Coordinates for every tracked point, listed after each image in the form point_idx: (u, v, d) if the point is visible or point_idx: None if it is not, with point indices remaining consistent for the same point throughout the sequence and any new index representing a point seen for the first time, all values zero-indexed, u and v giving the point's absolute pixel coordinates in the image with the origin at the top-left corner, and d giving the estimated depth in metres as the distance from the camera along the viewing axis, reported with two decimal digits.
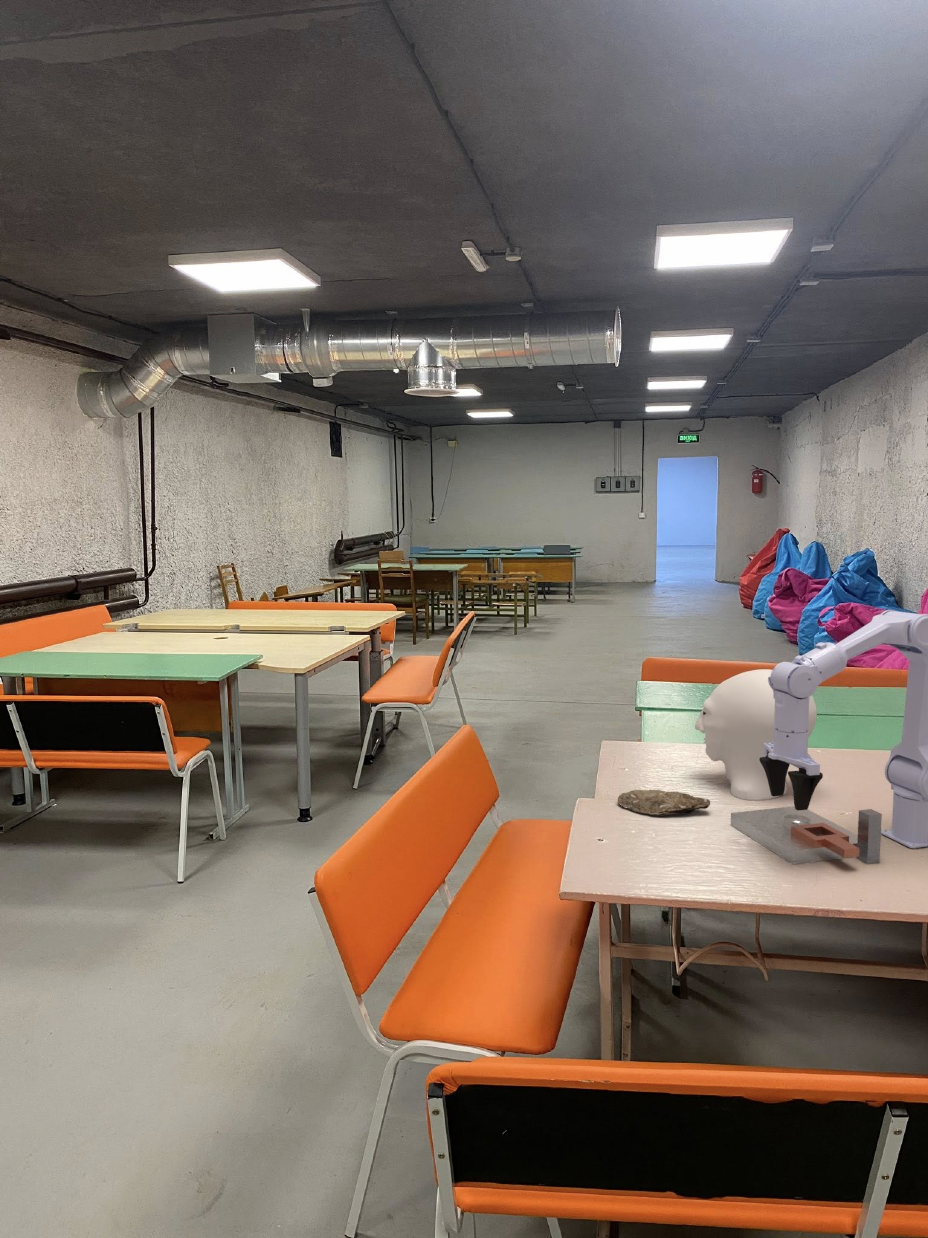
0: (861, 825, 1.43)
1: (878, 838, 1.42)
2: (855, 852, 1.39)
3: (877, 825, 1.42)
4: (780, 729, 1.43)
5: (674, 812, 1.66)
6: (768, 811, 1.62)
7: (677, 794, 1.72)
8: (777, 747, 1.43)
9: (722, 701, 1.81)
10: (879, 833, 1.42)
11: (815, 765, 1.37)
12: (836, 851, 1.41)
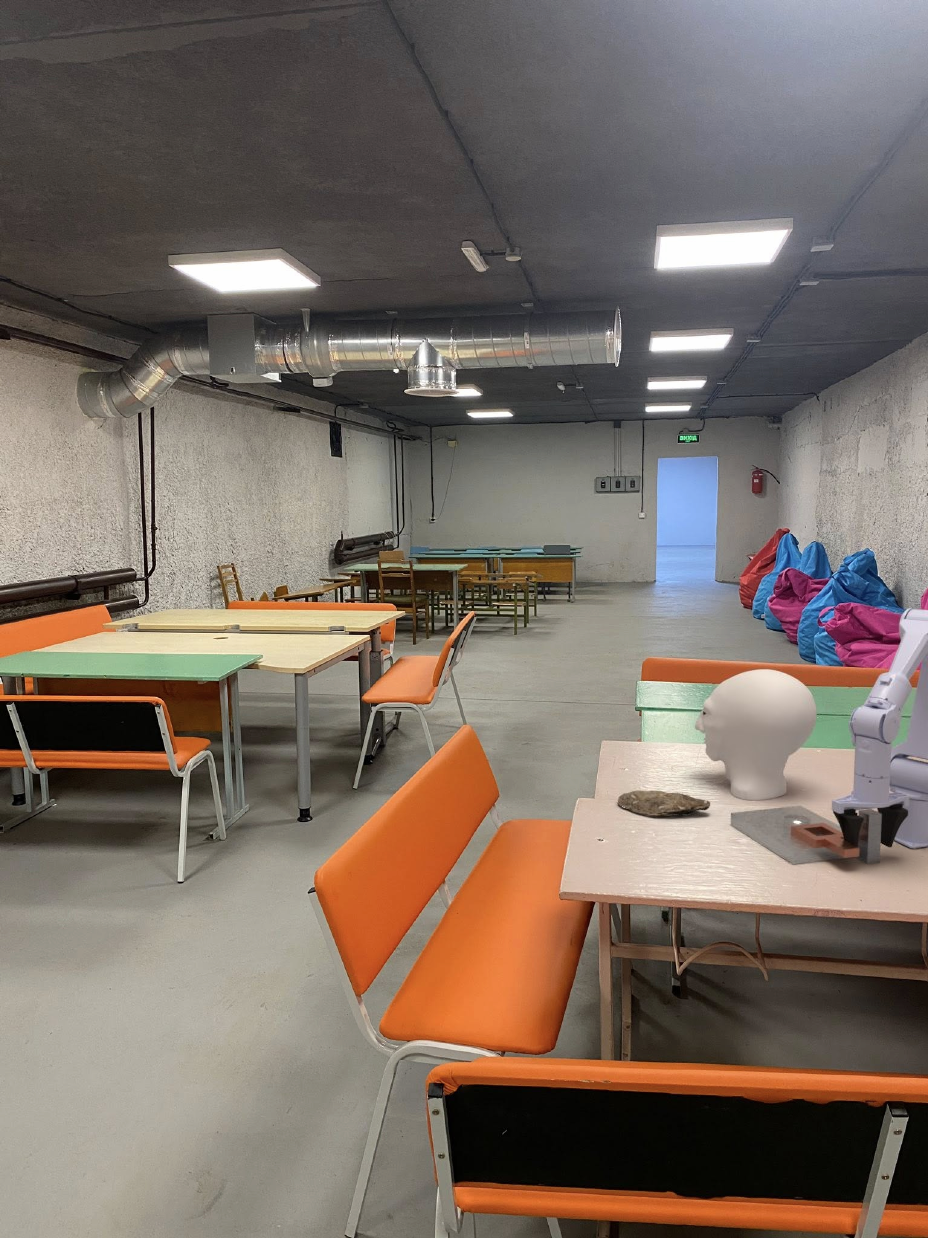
0: (861, 825, 1.43)
1: (878, 838, 1.42)
2: (855, 852, 1.39)
3: (877, 825, 1.42)
4: (868, 775, 1.40)
5: (673, 813, 1.65)
6: (768, 811, 1.62)
7: (677, 795, 1.71)
8: None
9: (722, 701, 1.81)
10: (879, 833, 1.42)
11: (836, 802, 1.41)
12: (836, 851, 1.41)
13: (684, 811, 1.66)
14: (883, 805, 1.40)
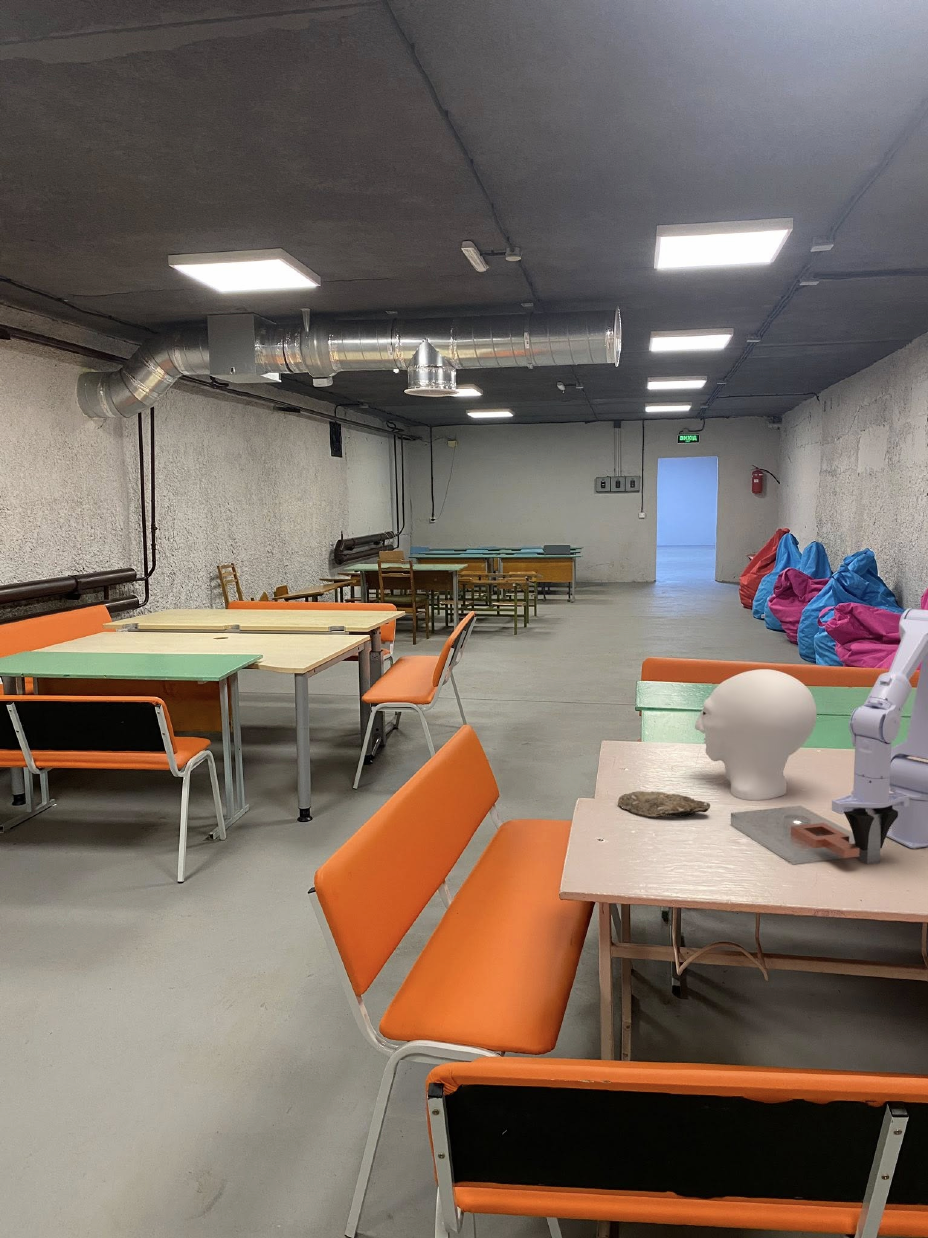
0: None
1: (878, 838, 1.42)
2: (855, 852, 1.39)
3: (877, 825, 1.42)
4: (868, 775, 1.40)
5: (671, 814, 1.65)
6: (768, 811, 1.62)
7: (678, 797, 1.70)
8: None
9: (722, 701, 1.81)
10: (879, 833, 1.42)
11: (836, 802, 1.41)
12: (836, 851, 1.41)
13: (683, 813, 1.65)
14: (883, 805, 1.40)
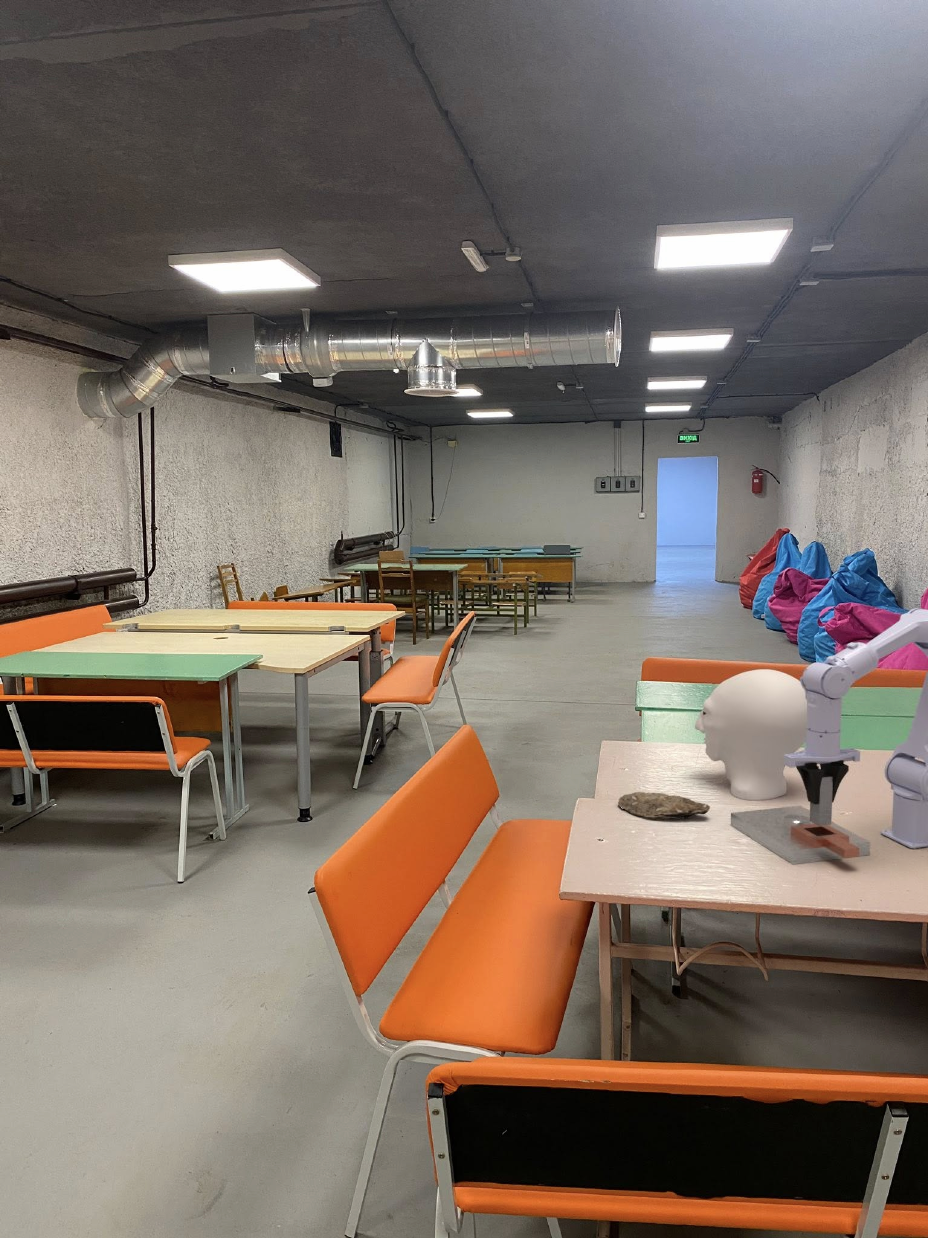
0: None
1: (829, 800, 1.45)
2: (855, 852, 1.39)
3: (828, 788, 1.45)
4: (813, 729, 1.44)
5: (670, 816, 1.64)
6: (768, 811, 1.62)
7: (677, 798, 1.69)
8: None
9: (722, 701, 1.81)
10: (830, 795, 1.45)
11: (787, 757, 1.44)
12: (836, 851, 1.41)
13: (681, 814, 1.64)
14: (833, 759, 1.43)
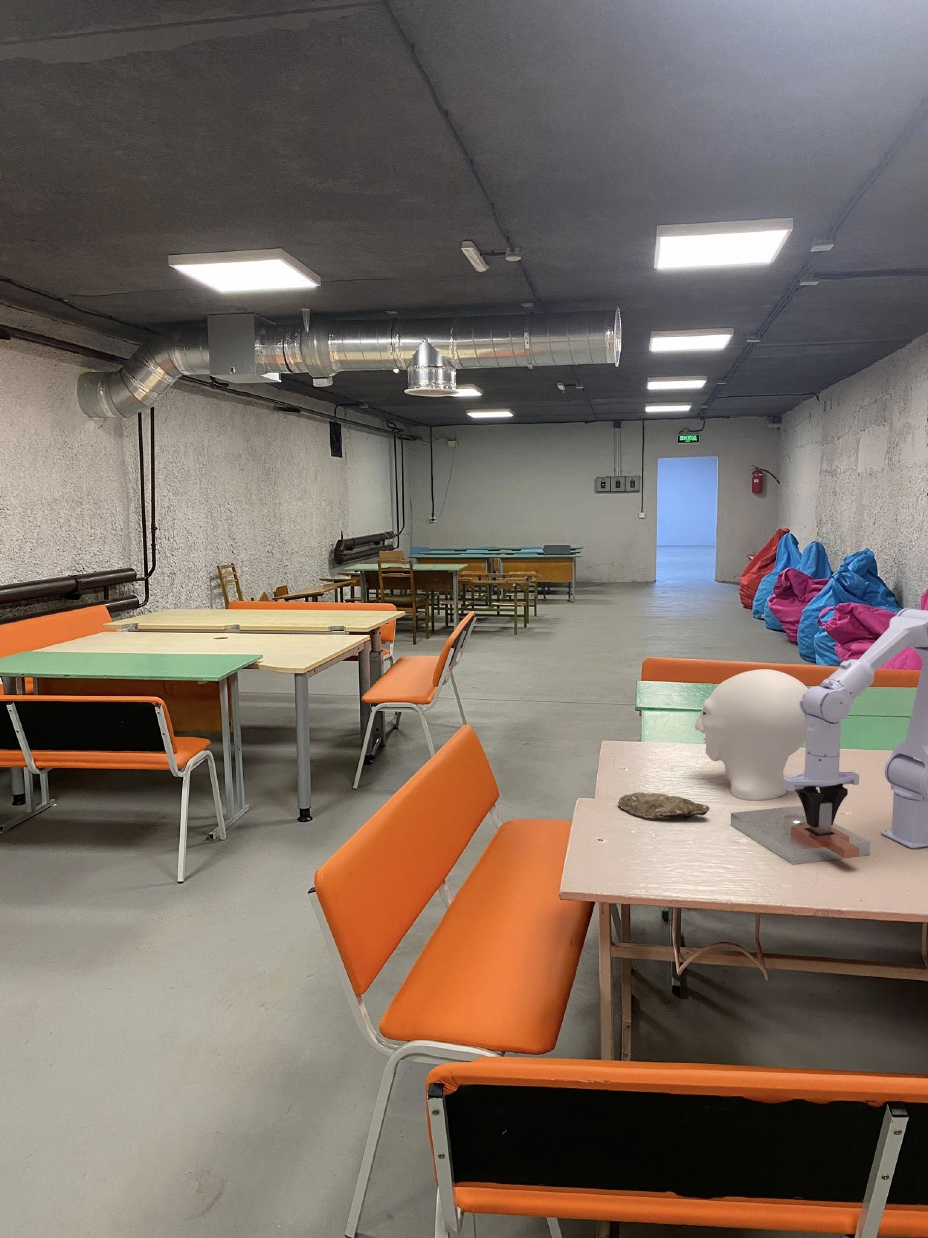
0: None
1: (829, 826, 1.46)
2: (855, 852, 1.39)
3: (827, 814, 1.46)
4: (812, 753, 1.44)
5: (669, 816, 1.64)
6: (768, 811, 1.62)
7: (677, 799, 1.69)
8: None
9: (722, 701, 1.81)
10: (830, 821, 1.46)
11: (787, 780, 1.44)
12: (836, 851, 1.41)
13: (681, 815, 1.63)
14: (832, 783, 1.43)
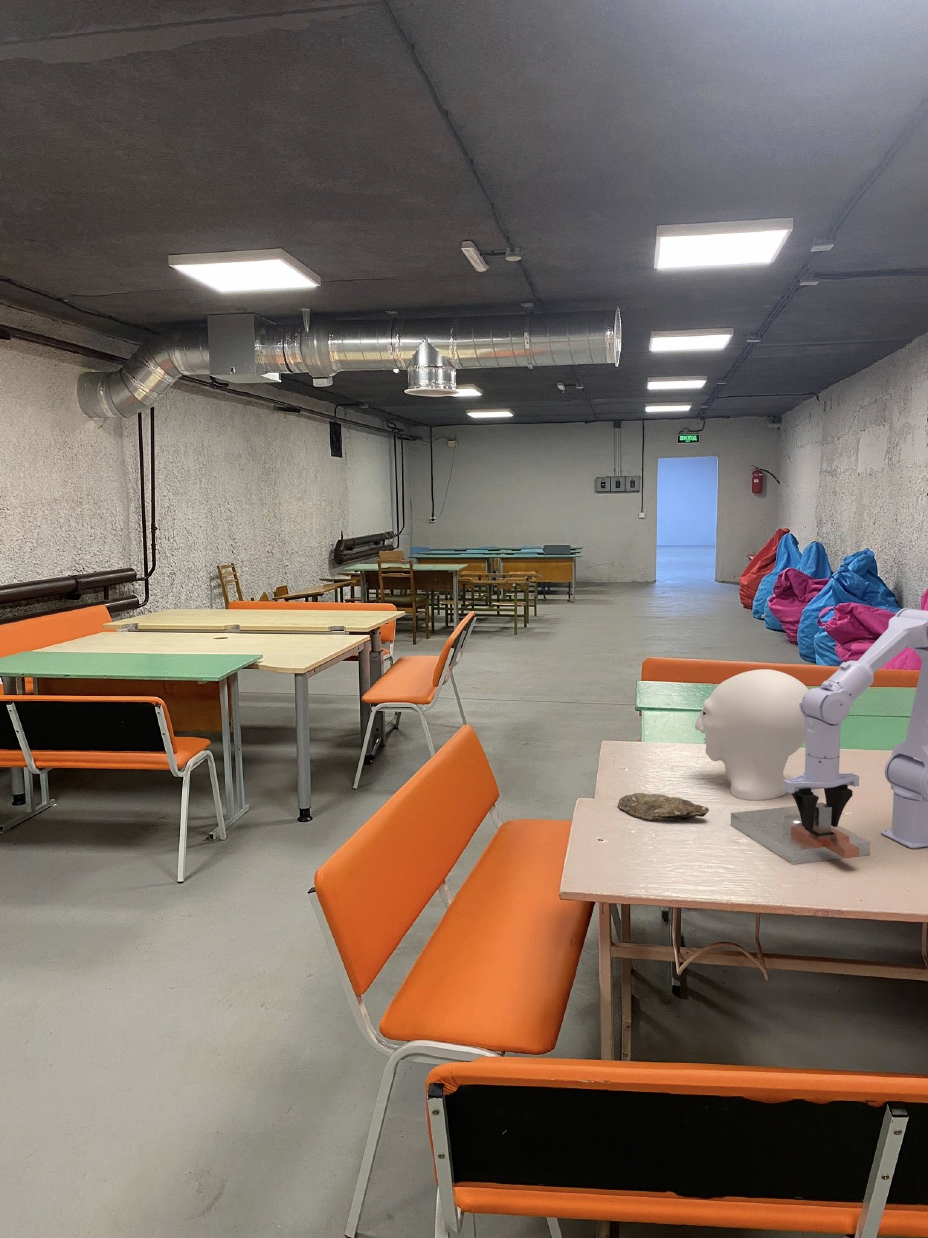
0: None
1: (828, 830, 1.46)
2: (855, 852, 1.39)
3: (827, 818, 1.46)
4: (812, 755, 1.44)
5: (667, 818, 1.63)
6: (768, 811, 1.62)
7: (677, 800, 1.68)
8: None
9: (722, 701, 1.81)
10: (829, 826, 1.46)
11: (787, 782, 1.44)
12: (836, 851, 1.41)
13: (679, 816, 1.63)
14: (832, 785, 1.43)
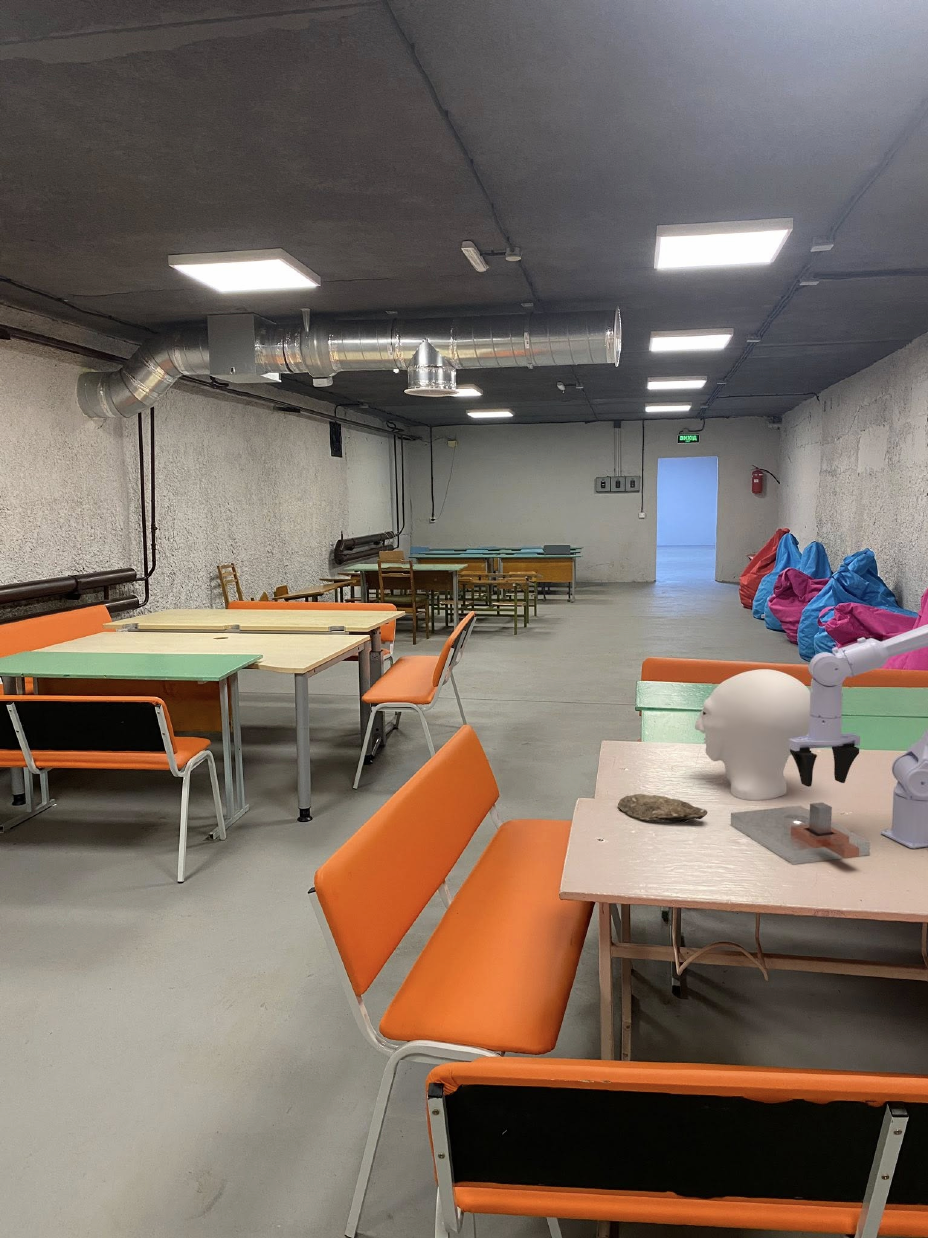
0: (812, 818, 1.47)
1: (828, 830, 1.46)
2: (855, 852, 1.39)
3: (827, 818, 1.46)
4: (810, 713, 1.55)
5: (664, 819, 1.62)
6: (768, 811, 1.62)
7: (676, 802, 1.67)
8: None
9: (722, 701, 1.81)
10: (829, 826, 1.46)
11: (792, 741, 1.53)
12: (836, 851, 1.41)
13: (676, 818, 1.62)
14: (835, 743, 1.52)
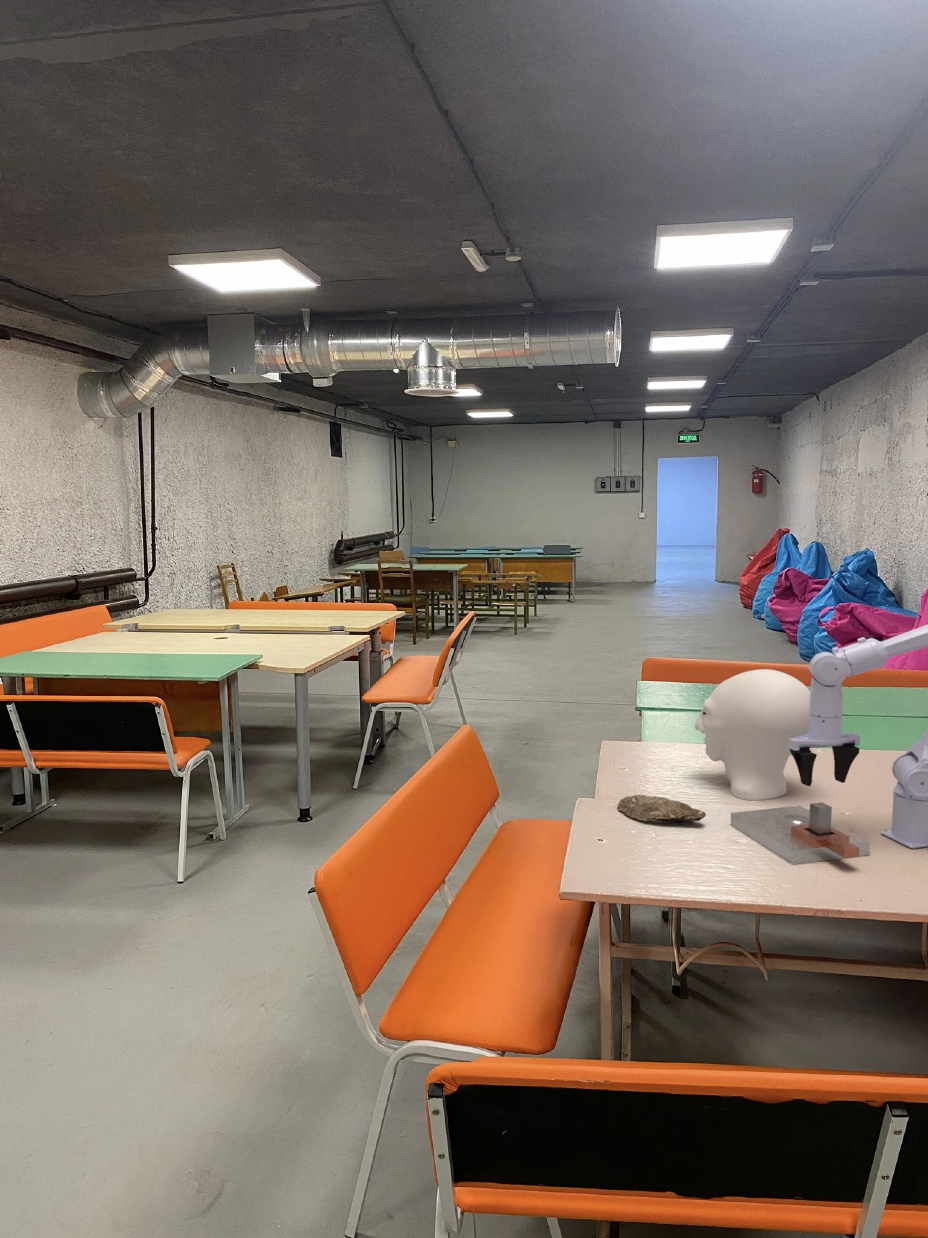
0: (812, 818, 1.47)
1: (828, 830, 1.46)
2: (855, 852, 1.39)
3: (827, 818, 1.46)
4: (810, 713, 1.55)
5: (662, 820, 1.62)
6: (768, 811, 1.62)
7: (675, 803, 1.66)
8: None
9: (722, 701, 1.81)
10: (829, 826, 1.46)
11: (792, 740, 1.54)
12: (836, 851, 1.41)
13: (674, 819, 1.61)
14: (835, 742, 1.53)
